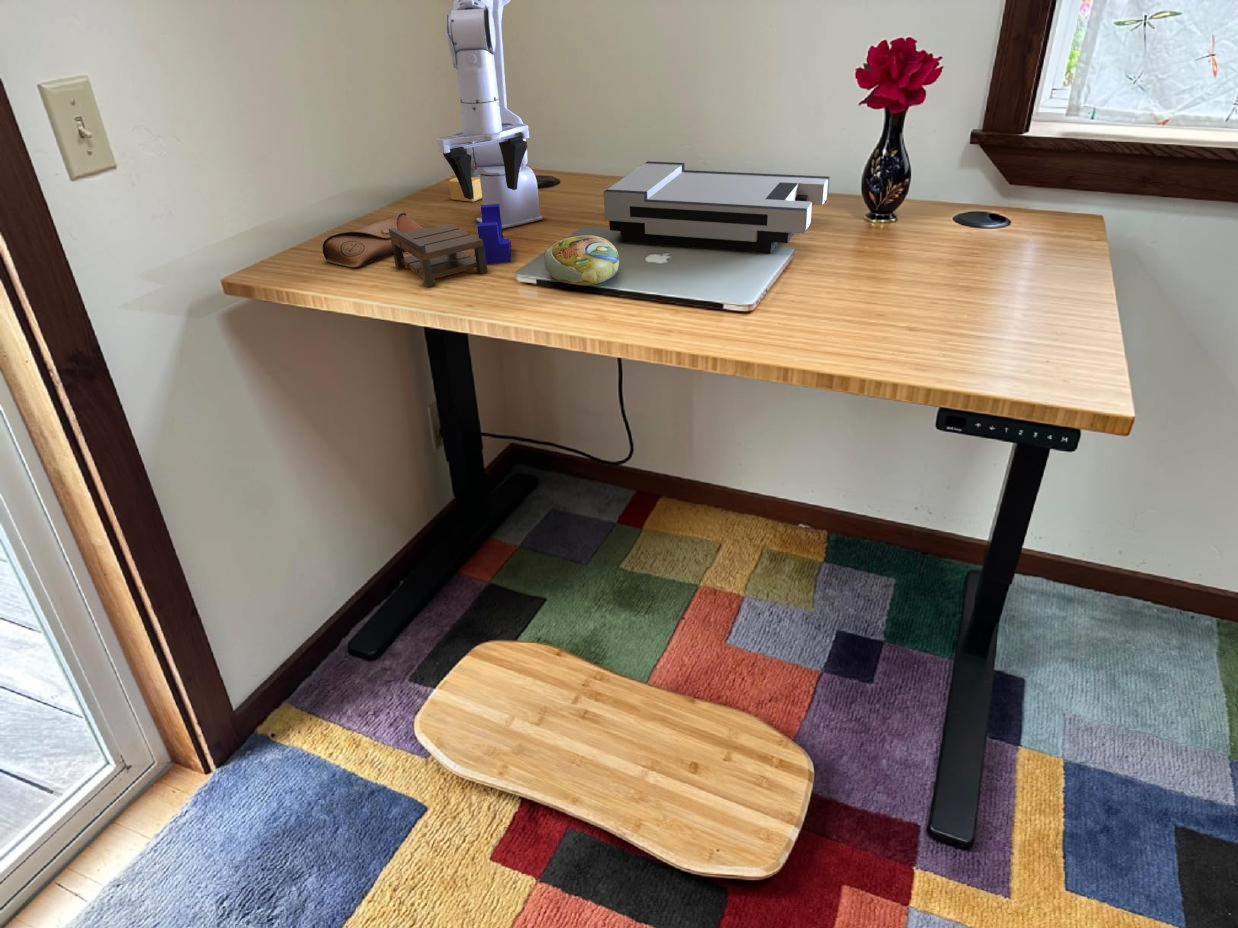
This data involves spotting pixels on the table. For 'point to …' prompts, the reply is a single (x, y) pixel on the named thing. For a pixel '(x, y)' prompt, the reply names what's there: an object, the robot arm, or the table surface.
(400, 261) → the rack
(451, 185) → the rubber stamp
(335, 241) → the sunglasses case
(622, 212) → the game console
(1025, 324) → the table surface
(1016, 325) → the table surface
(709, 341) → the table surface
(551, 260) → the cell model
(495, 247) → the blue stepped block
